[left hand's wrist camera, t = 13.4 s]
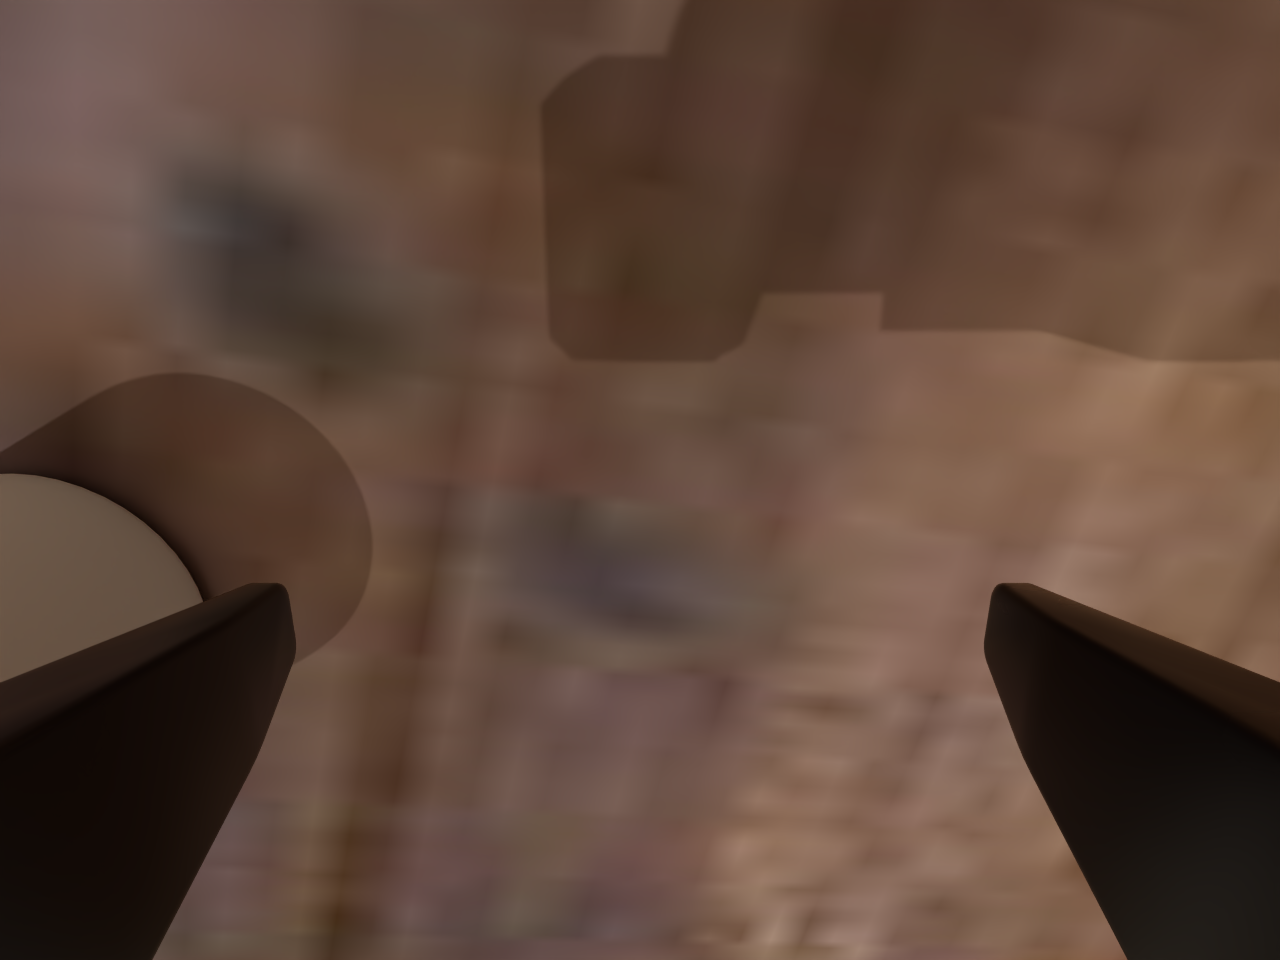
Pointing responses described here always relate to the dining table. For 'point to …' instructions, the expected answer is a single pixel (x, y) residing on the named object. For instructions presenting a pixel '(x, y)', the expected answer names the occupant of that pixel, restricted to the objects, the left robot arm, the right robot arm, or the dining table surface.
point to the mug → (77, 572)
